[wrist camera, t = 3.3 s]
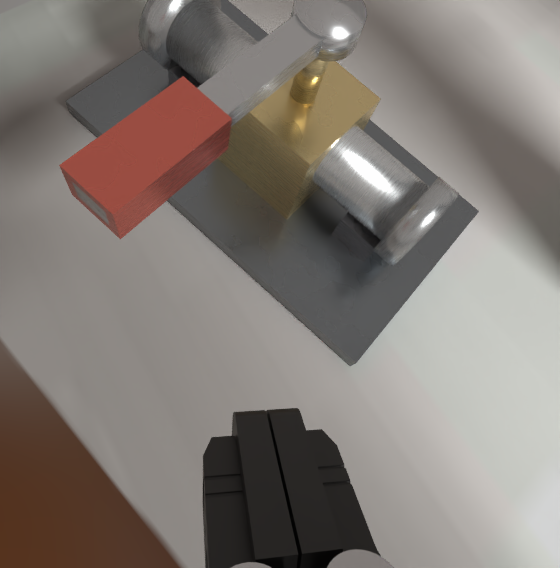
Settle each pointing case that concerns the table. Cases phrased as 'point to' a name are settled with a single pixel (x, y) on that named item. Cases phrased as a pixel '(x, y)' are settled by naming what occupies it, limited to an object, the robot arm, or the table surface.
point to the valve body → (294, 178)
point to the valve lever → (201, 117)
